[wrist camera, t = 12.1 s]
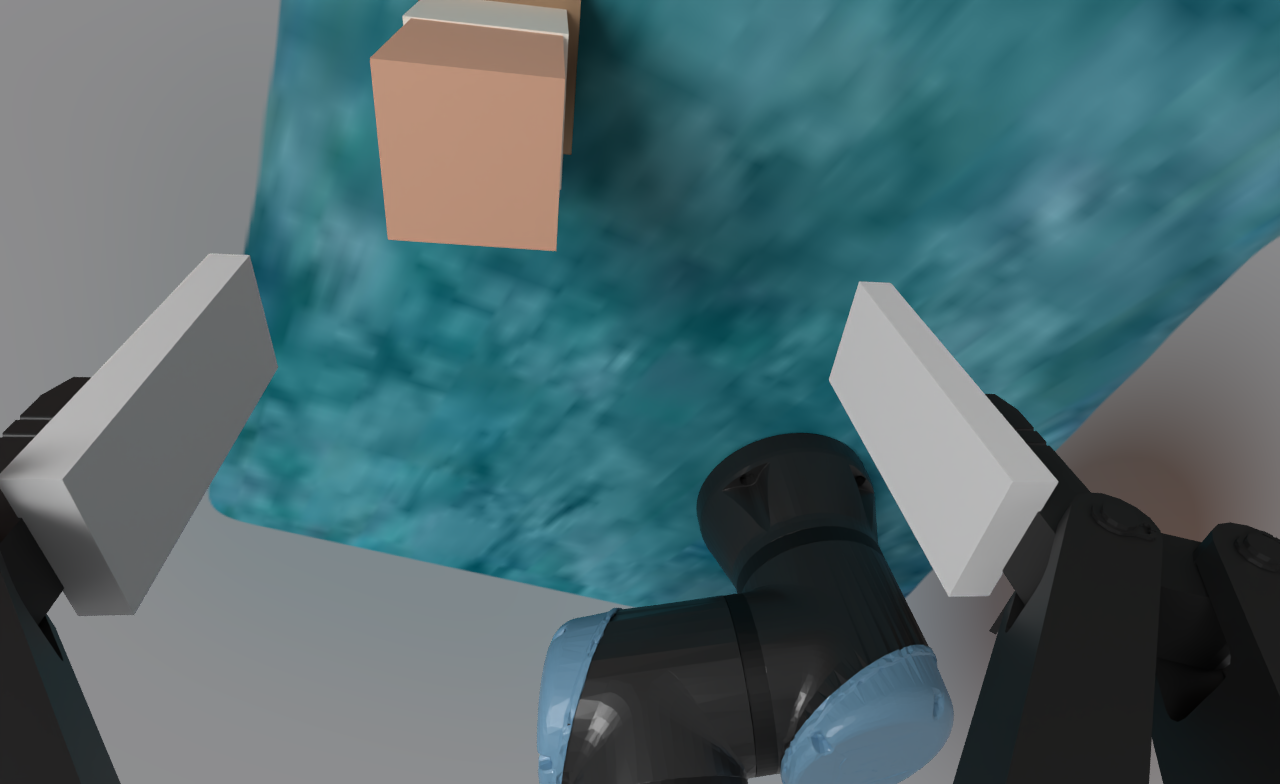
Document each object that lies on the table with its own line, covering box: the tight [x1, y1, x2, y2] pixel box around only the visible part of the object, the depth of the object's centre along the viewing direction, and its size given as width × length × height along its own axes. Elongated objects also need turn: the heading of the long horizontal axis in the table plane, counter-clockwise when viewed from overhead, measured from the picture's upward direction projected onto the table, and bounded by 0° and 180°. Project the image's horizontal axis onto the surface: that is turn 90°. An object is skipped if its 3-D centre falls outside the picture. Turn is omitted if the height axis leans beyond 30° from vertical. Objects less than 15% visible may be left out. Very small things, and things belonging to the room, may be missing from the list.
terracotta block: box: [370, 18, 565, 251], centre depth 24 cm, size 6×6×7 cm
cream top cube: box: [403, 0, 569, 190], centre depth 30 cm, size 6×6×6 cm
